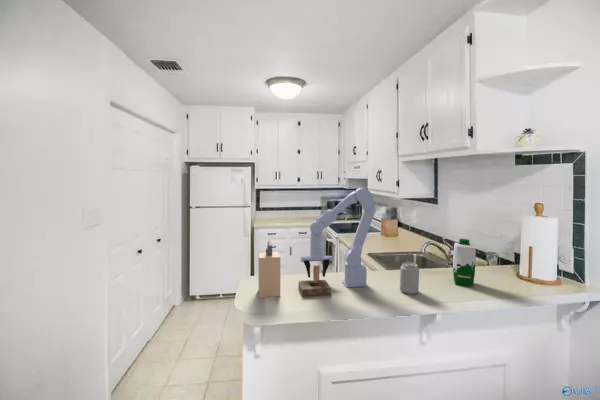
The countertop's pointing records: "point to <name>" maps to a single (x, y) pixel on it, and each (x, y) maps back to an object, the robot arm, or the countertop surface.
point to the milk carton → (464, 263)
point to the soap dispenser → (269, 273)
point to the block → (314, 288)
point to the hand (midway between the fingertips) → (316, 276)
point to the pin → (315, 272)
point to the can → (409, 278)
